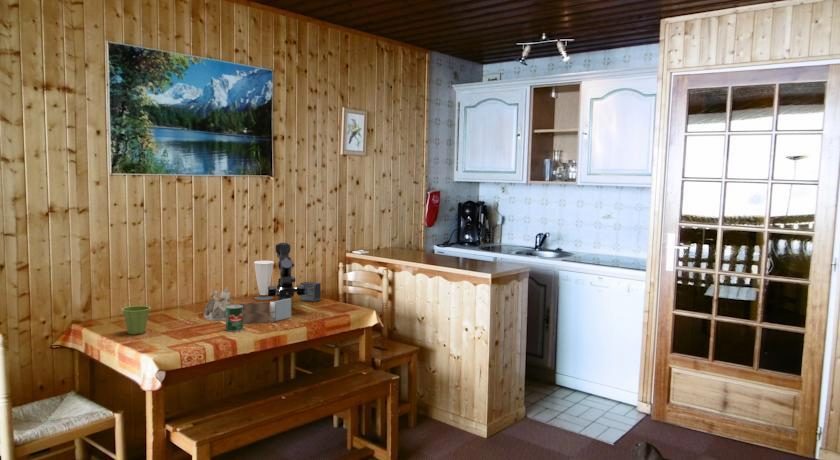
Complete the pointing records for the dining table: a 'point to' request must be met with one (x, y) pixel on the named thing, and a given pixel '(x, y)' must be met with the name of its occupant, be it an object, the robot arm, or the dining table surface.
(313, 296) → the small box
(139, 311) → the plant pot
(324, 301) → the dining table surface
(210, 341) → the dining table surface
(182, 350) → the dining table surface
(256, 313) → the walnut leaf
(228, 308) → the canned tomato
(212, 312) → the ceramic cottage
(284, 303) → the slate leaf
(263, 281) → the cup
